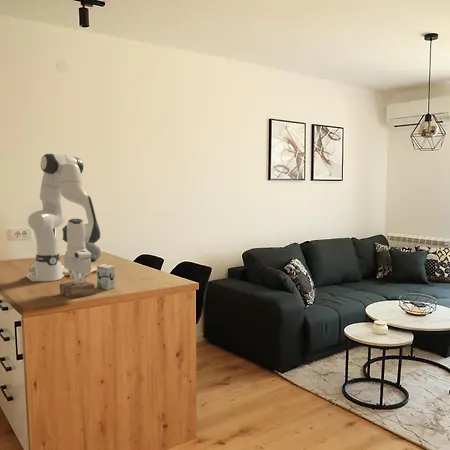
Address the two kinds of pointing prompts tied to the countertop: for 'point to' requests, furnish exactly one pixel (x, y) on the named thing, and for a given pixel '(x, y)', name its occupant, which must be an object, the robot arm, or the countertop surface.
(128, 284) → the countertop surface
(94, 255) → the decorative stone
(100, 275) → the ink box
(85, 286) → the bore block
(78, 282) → the pin
